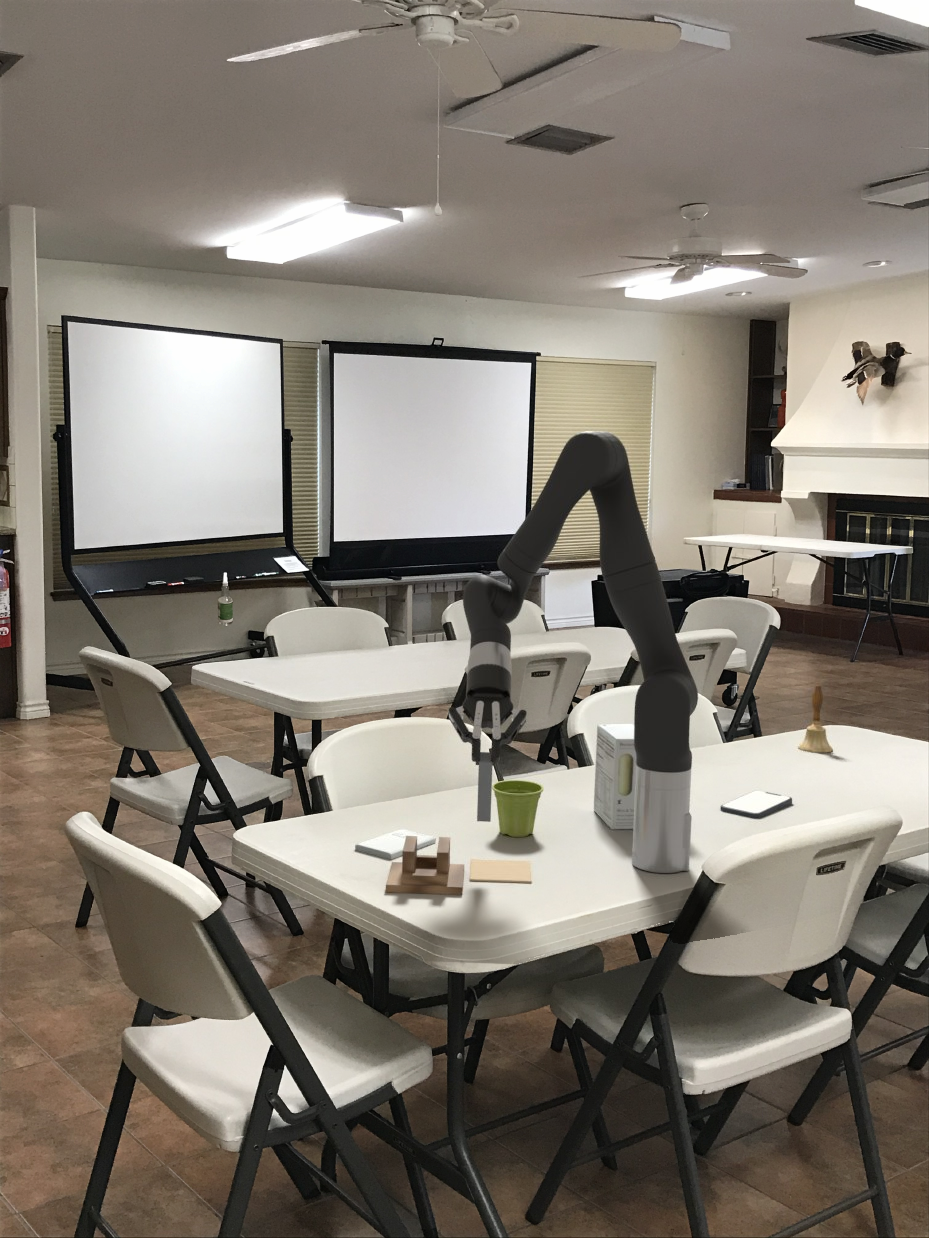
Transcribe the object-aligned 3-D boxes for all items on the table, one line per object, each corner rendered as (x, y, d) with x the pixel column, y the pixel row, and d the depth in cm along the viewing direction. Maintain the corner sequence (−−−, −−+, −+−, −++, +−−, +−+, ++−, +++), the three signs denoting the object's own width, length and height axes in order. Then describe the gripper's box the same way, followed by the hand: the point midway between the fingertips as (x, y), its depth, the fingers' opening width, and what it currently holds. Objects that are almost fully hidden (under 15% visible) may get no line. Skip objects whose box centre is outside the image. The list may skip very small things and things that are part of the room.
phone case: (758, 822, 232) (794, 804, 244) (758, 814, 231) (795, 797, 243) (717, 813, 237) (755, 796, 249) (717, 805, 237) (755, 789, 249)
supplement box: (610, 830, 222) (614, 738, 220) (592, 810, 235) (595, 723, 233) (679, 828, 224) (683, 737, 222) (657, 809, 237) (661, 722, 235)
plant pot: (547, 839, 215) (548, 792, 214) (496, 841, 214) (497, 793, 212) (535, 824, 224) (537, 779, 223) (486, 825, 223) (487, 780, 222)
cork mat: (529, 862, 202) (529, 861, 202) (531, 882, 192) (531, 880, 192) (470, 860, 202) (471, 859, 202) (469, 880, 192) (469, 878, 192)
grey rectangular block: (490, 810, 198) (492, 752, 195) (490, 821, 194) (492, 762, 191) (477, 809, 198) (479, 752, 195) (477, 821, 194) (478, 762, 191)
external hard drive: (354, 852, 207) (400, 836, 217) (391, 862, 202) (435, 845, 212) (354, 843, 207) (400, 827, 217) (391, 853, 202) (436, 836, 212)
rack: (464, 871, 197) (465, 834, 196) (462, 894, 186) (463, 856, 185) (391, 868, 197) (392, 832, 196) (385, 892, 186) (386, 853, 185)
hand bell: (799, 751, 290) (803, 687, 288) (796, 744, 298) (799, 681, 296) (835, 754, 289) (839, 689, 287) (830, 746, 297) (834, 683, 295)
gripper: (448, 660, 200) (442, 749, 189) (530, 663, 199) (529, 752, 189) (449, 686, 206) (443, 773, 195) (528, 689, 205) (527, 776, 195)
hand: (485, 762), depth 192 cm, fingers closed on grey rectangular block, 2 cm apart
